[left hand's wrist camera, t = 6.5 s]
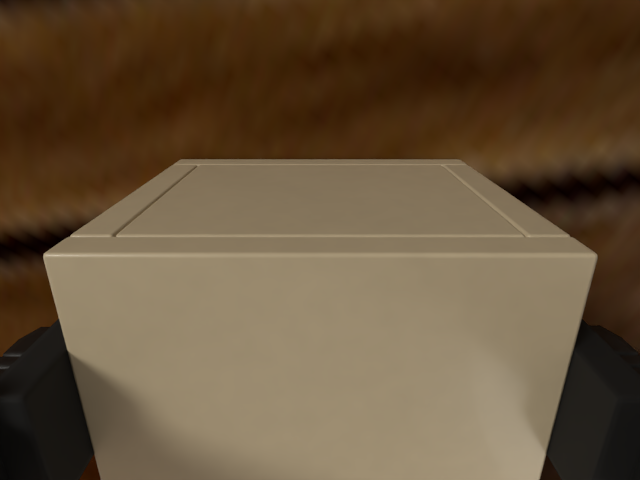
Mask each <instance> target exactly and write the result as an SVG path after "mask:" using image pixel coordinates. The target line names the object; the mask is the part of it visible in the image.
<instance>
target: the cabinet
mask: <svg viewBox="0 0 640 480" xmlns="http://www.w3.org/2000/svg"><path fill="white" fill-rule="evenodd" d="M597 258H598V257H597V254H596V253H595V252H594V251H592V250H591V249H589V248H588V247H586V246H585V245H583V244H582V243H581V242H579V241H578V240H576V239H575V238H572V237H570V235H569V234H567V233H566V232H564V231H563V230H561V229H560V228H559V227H557V226H556V225H554V224H553V223H551V222H550V221H548V220H547V219H545V218H544V217H543V216H541V215H540V214H538V213H537V212H535V211H534V210H532V209H531V208H530V207H528V206H527V205H525V204H524V203H522V202H521V201H519V200H518V199H516V198H515V197H514V196H512V195H511V194H509V193H508V192H506V191H505V190H503V189H502V188H500V187H499V186H498V185H496V184H495V183H493V182H492V181H490V180H489V179H487V178H486V177H485V176H483V175H482V174H480V173H479V172H477V171H476V170H474V169H473V168H471V167H470V166H468V165H467V164H466V163H464V162H463V161H461V160H459V159H181V160H179V161H178V162H176V163H175V164H174V165H172V166H171V167H169V168H168V169H166V170H165V171H163V172H162V173H160V174H159V175H157V176H156V177H155V178H153V179H152V180H150V181H149V182H147V183H146V184H144V185H143V186H141V187H140V188H139V189H137V190H136V191H134V192H133V193H131V194H130V195H128V196H127V197H125V198H124V199H123V200H121V201H120V202H118V203H117V204H115V205H114V206H112V207H111V208H109V209H108V210H106V211H105V212H104V213H102V214H101V215H99V216H98V217H96V218H95V219H93V220H92V221H90V222H89V223H88V224H86V225H85V226H83V227H82V228H80V229H79V230H77V231H76V232H74V233H73V234H72V235H71V236H70V237H68V238H66V239H64V240H63V241H61V242H60V243H58V244H57V245H56V246H54V247H53V248H51V249H50V250H48V251H47V252H45V253H44V256H43V259H44V263H45V266H46V270H47V274H48V278H49V282H50V286H51V290H52V293H53V297H54V301H55V305H56V309H57V313H58V316H59V320H60V324H61V328H62V332H63V336H64V339H65V343H66V347H67V351H68V355H69V359H70V362H71V366H72V370H73V374H74V378H75V382H76V386H77V389H78V393H79V397H80V401H81V405H82V409H83V412H84V416H85V420H86V424H87V428H88V432H89V435H90V439H91V443H92V447H93V451H94V455H95V458H96V462H97V466H98V470H99V474H100V478H101V480H540V476H541V473H542V469H543V465H544V461H545V457H546V454H547V450H548V446H549V442H550V438H551V434H552V431H553V427H554V423H555V419H556V415H557V411H558V408H559V404H560V400H561V396H562V392H563V388H564V385H565V381H566V377H567V373H568V369H569V365H570V362H571V358H572V354H573V350H574V346H575V343H576V339H577V335H578V331H579V327H580V323H581V320H582V316H583V312H584V308H585V304H586V300H587V297H588V293H589V289H590V285H591V281H592V277H593V274H594V270H595V266H596V262H597Z"/></svg>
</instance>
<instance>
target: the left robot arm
mask: <svg viewBox="0 0 640 480" xmlns="http://www.w3.org/2000/svg"><path fill="white" fill-rule="evenodd" d="M93 455H94V451H93V447H92V443H91V439H90V435H89V432H88V428H87V424H86V420H85V416H84V412H83V409H82V405H81V401H80V397H79V393H78V389H77V386H76V382H75V378H74V374H73V370H72V366H71V362H70V359H69V355H68V351H67V347H66V343H65V339H64V336H63V332H62V328H61V324H60V320H59V319H58V320H57V321H56V322H55V323H54V324H53V325H52V326H51V327H40V328H39V329H37V330H35V331H33V332H31V333H30V334H28V335H26V336H24V337H23V338H21V339H19V340H18V341H17V342H16V343H15V344H14V345H12V346H11V347H10V348H9V349H8V350H7V351H6V352H5V353H4V354H3V357H0V480H79V479H80V477H81V475H82V473H83V472H84V470H85V468H86V467H87V465H88V463H89V461H90V460H91V458H92V456H93ZM547 455H548V457H549V459H550V461H551V462H552V464H553V466H554V468H555V469H556V471H557V473H558V474H559V476H560V478H561V480H640V355H638V352H637V351H636V350H635V349H634V348H632V347H631V346H630V345H629V344H628V343H627V342H626V341H625V340H624V339H622V338H621V337H619V336H617V335H616V334H614V333H612V332H610V331H609V330H607V329H605V328H603V327H601V326H589V325H588V324H587V323H586V322H585V321H584V320H581V323H580V327H579V331H578V335H577V339H576V343H575V346H574V350H573V354H572V358H571V362H570V365H569V369H568V373H567V377H566V381H565V385H564V388H563V392H562V396H561V400H560V404H559V408H558V411H557V415H556V419H555V423H554V427H553V431H552V434H551V438H550V442H549V446H548V450H547Z"/></svg>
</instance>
